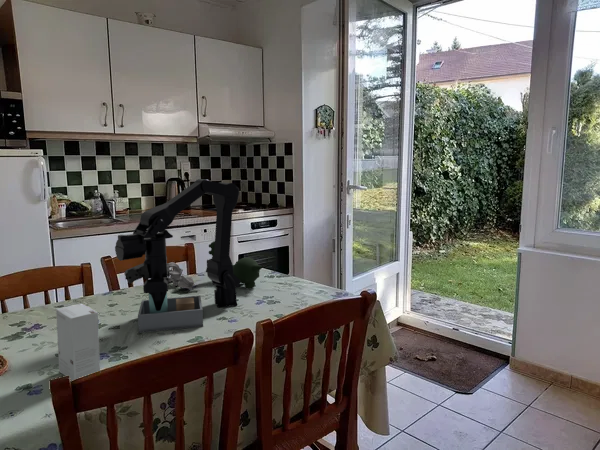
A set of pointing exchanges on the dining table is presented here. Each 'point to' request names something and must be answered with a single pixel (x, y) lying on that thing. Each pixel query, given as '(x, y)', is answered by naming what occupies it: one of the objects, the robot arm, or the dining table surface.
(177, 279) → the spaceship
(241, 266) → the toy figurine
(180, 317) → the tote
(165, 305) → the teal capsule
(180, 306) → the walnut block
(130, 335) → the dining table surface
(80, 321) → the skincare box
